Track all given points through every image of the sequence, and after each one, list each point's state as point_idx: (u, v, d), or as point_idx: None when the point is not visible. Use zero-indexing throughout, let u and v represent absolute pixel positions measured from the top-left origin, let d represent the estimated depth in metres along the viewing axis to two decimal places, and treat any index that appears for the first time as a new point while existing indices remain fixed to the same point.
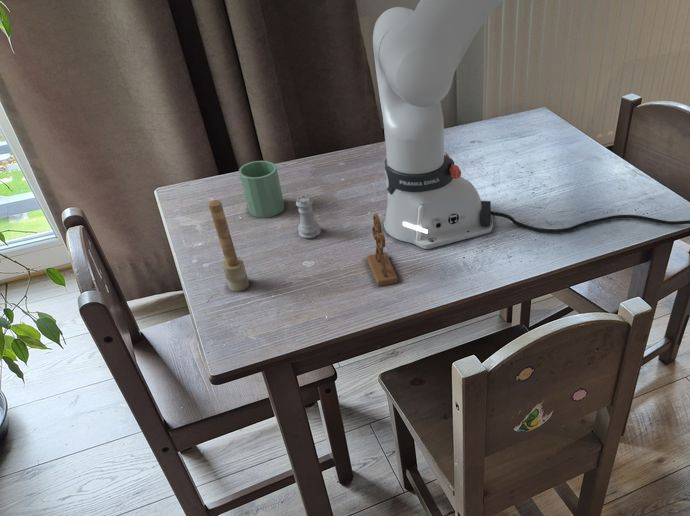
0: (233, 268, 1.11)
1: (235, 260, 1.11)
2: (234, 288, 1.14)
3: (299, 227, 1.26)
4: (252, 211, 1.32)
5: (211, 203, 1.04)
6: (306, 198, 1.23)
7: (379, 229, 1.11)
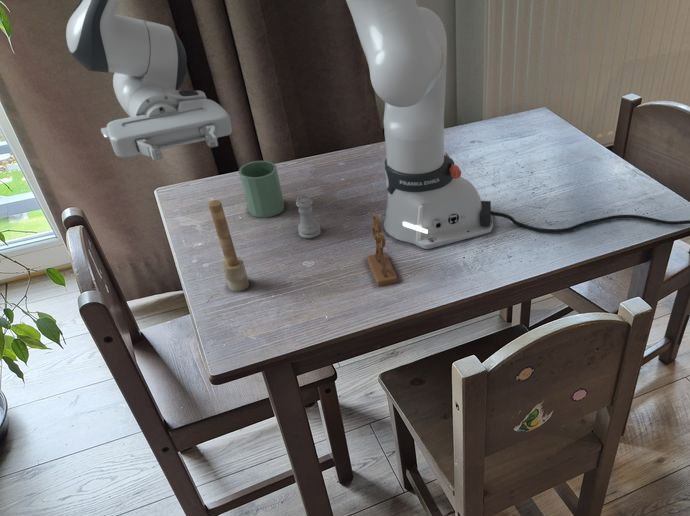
0: (233, 268, 1.11)
1: (235, 260, 1.11)
2: (234, 288, 1.14)
3: (299, 227, 1.26)
4: (252, 211, 1.32)
5: (211, 203, 1.04)
6: (306, 198, 1.23)
7: (379, 229, 1.11)
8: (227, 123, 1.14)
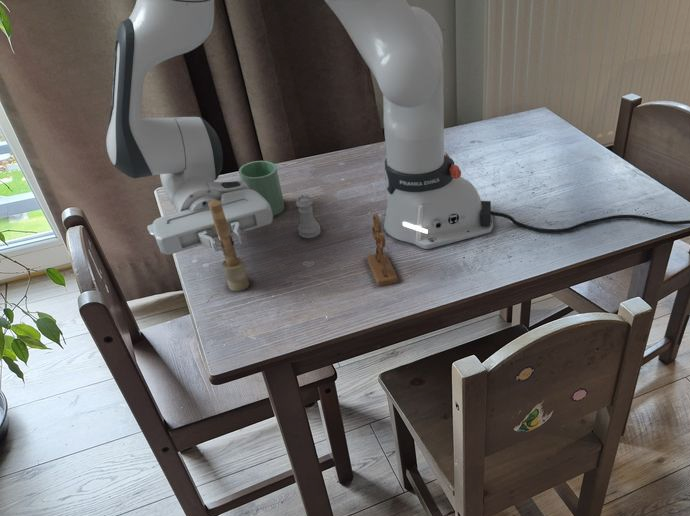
0: (233, 268, 1.11)
1: (235, 260, 1.11)
2: (234, 288, 1.14)
3: (299, 227, 1.26)
4: None
5: (211, 203, 1.04)
6: (306, 198, 1.23)
7: (379, 229, 1.11)
8: (268, 213, 1.15)
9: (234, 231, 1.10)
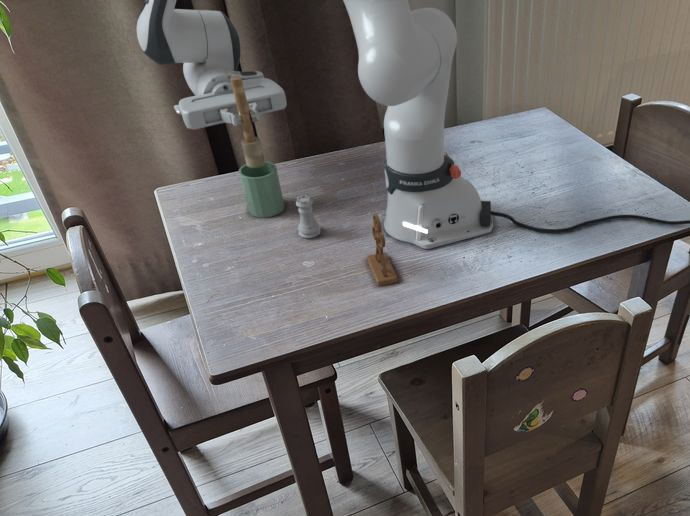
0: (251, 144, 1.23)
1: (253, 137, 1.23)
2: (251, 164, 1.26)
3: (299, 227, 1.26)
4: (252, 211, 1.32)
5: (233, 77, 1.16)
6: (306, 198, 1.23)
7: (379, 229, 1.11)
8: (283, 98, 1.27)
9: (252, 109, 1.22)
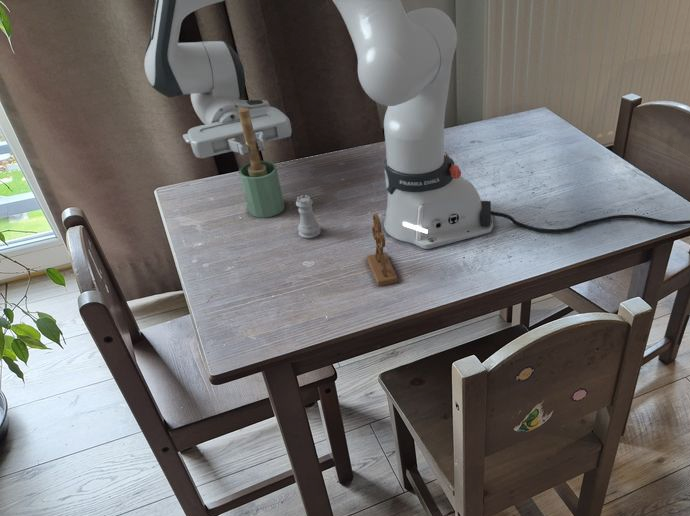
0: (257, 172, 1.27)
1: (259, 165, 1.27)
2: None
3: (299, 227, 1.26)
4: (252, 211, 1.32)
5: (240, 109, 1.20)
6: (306, 198, 1.23)
7: (379, 229, 1.11)
8: (288, 126, 1.31)
9: (259, 138, 1.26)
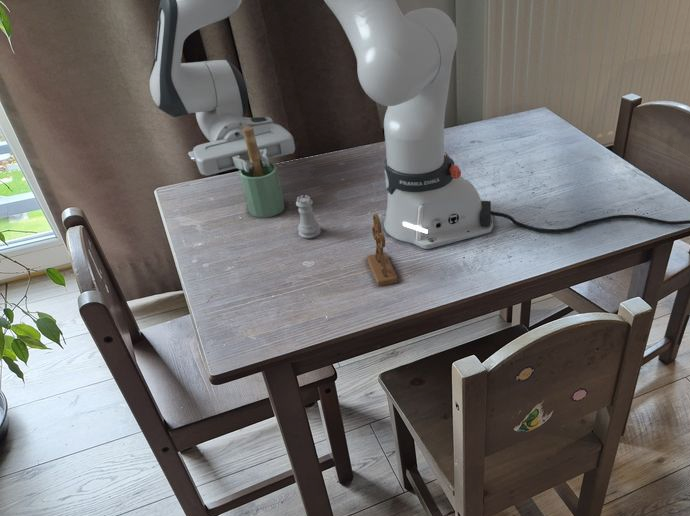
0: None
1: None
2: None
3: (299, 227, 1.26)
4: (252, 211, 1.32)
5: (245, 128, 1.23)
6: (306, 198, 1.23)
7: (379, 229, 1.11)
8: (291, 143, 1.33)
9: (263, 156, 1.28)
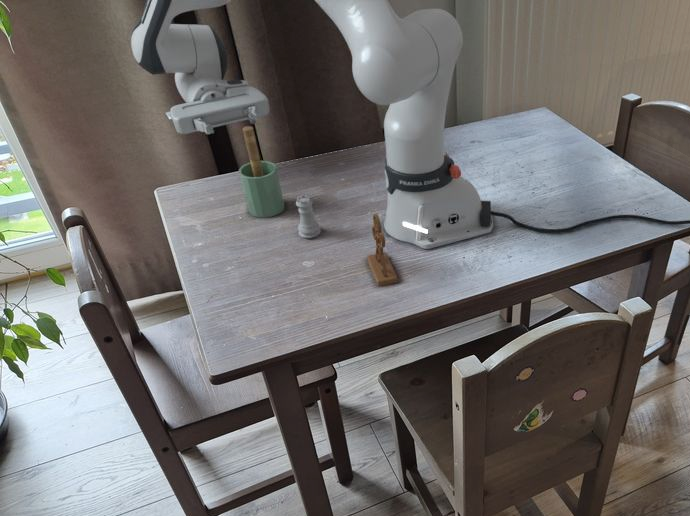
0: None
1: None
2: None
3: (299, 227, 1.26)
4: (252, 211, 1.32)
5: (245, 128, 1.23)
6: (306, 198, 1.23)
7: (379, 229, 1.11)
8: (266, 105, 1.38)
9: (252, 112, 1.34)
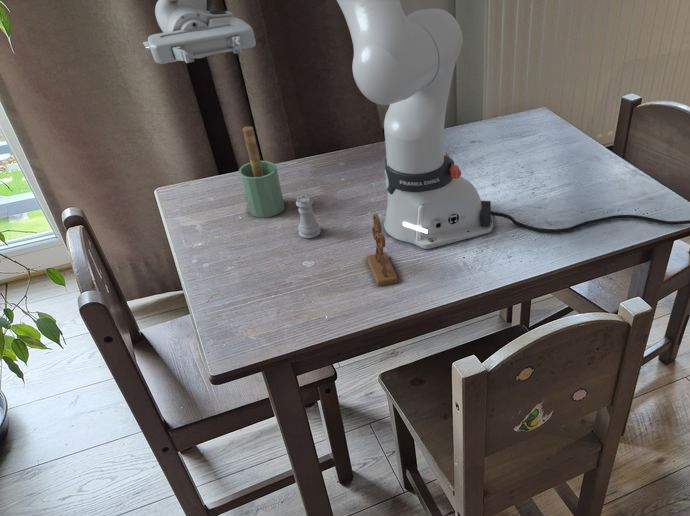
0: None
1: None
2: None
3: (299, 227, 1.26)
4: (252, 211, 1.32)
5: (245, 128, 1.23)
6: (306, 198, 1.23)
7: (379, 229, 1.11)
8: (251, 35, 1.29)
9: (235, 41, 1.25)
